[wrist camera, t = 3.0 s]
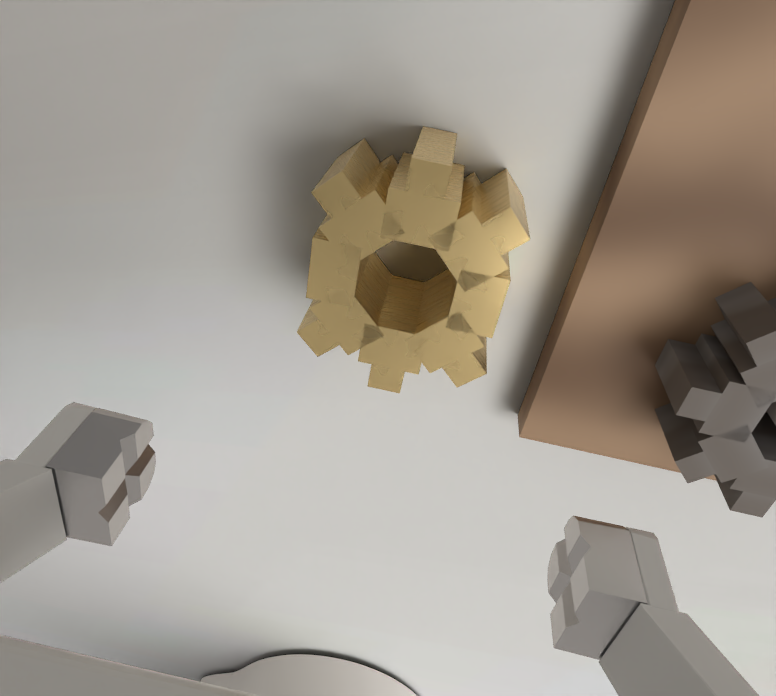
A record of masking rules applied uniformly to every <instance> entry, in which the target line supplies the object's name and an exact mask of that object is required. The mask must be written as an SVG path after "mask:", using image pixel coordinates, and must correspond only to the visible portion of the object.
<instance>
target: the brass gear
mask: <svg viewBox="0 0 776 696" xmlns="http://www.w3.org/2000/svg"><path fill="white" fill-rule="evenodd" d="M456 138H457V133H453V132H448V131H443V130H438V129H434V128H429V127H424V126H423V128H422V130H421V133H420V136H419V139H418V141H417V144H416V147H415V149H414V152H413V154H409V153H405V152H403V155H402V157H401V159H400V162H399V164H398V163H397V161H396V160H395V158H394V157H393V155H391V156H389V157H388V158H386V159H385V160H383V161H382V162H380V160H379V159H378V158H377V156H376V155H375V153H374V152H373V150H372V149H371V147H370V146H369V144H368V143H367V141H366V140H365V138H364V139H362V140H361V141H360V142H358V143H357V144H355V145H354V146H353V147H351V148H350V149H348V150H347V151H346V152H344V153H343V154H341V155H340V156H339V157H337V159H336V160H335V161H334V163H333V164H332V165H331V167H330V168H329V169H328V171H327V172H326V173H325V175H324V176H323V177H322V179H321V180H320V181H319V183H318V184H317V185H316V187H315V188H314V189H313V191H312V192H311V193H312V194H313V196H314V197H315V198H316V200H317V201H318V202H319V204H320V205H321V206H322V208H323V209H324V210H325V212H326V213H327V215H326V217H325V218H324V220H323V221H322V223H321V225H320V226H319V228H318V230H317V231H316V233H315V235H314V236H313V238H312V248H311V257H310V266H309V275H308V284H307V293H306V298H310V299H313V301H312V303H311V305H310V307H309V309H308V311H307V313H306V315H305V317H304V319H303V321H302V323H301V325H300V327H299V329H298V331H297V333H298V334H299V335H300V336H301V338H302V339H303V340H304V341H305V342H306V344H307V345H308V346H309V347H310V348H311V349H312V351H313V352H314V353H315V354H316V355H317V357H318V356H320V355H322V354H324V353H326V352H328V351H329V350H331V349H333V348H335V347H337V346H338V345H340V346H341V347H342V348H343V350H344V351H345V352H346V353H347V355H349V354H351V353H353V352H355V351H357V350H359V349H360V353H359V358H358V361H360V362H364V363H369V364H372V365H371V371H370V376H369V381H368V386H369V387H373V388H378V389H382V390H387V391H391V392H396V393H400V390H401V385H402V381H403V377H404V372H410V373H414V374H419V370H420V366H421V362H422V363H423V365H424V366H425V367H426V369H427V370H428V371H429V373H432V372H434V371H436V370H438V369H440V368H443V369H444V371H445V372H446V373H447V375H448V376H449V377H450V379H451V380H452V381H453V383H454V384H455V385H456V387H459V386H461V385H464V384H466V383H468V382H470V381H472V380H474V379H476V378H478V377H481V376H483V375H485V374H487V363H486V337H489V338H492V337H493V334H494V331H495V327H496V324H497V321H498V318H499V315H500V312H501V309H502V306H503V302H504V299H505V296H506V293H507V290H508V287H509V284H510V281H511V280H510V268H509V256H508V252H509V251H511V250H512V249H514V248H516V247H518V246H520V245H522V244H523V243H525V242H527V241H529V240H530V235H529V229H528V223H527V217H526V211H525V205H524V199H523V196H522V194H521V192H520V191H519V189H518V187H517V186H516V184H515V182H514V181H513V179H512V177H511V175H510V174H509V172H508V170H507V169H505V170H503V171H501V172H500V173H498V174H496V175H495V176H493V177H492V178H490V179H488V180H487V181H485V182H483V183H482V184H481V182H480V181H479V179H478V177H477V176H476V174H475V173H474V172H473V173H472V174H470V175H469V176H467V177H465V178H464V179H463V177H464V166H465V165H461V164H456V163H453V158H454V151H455V145H456ZM393 240H396V241H400V242H405V243H410V244H414V245H419V246H423V247H428V248H433V249H435V250H436V251H437V253H438V254H439V255H440V257H441V258H442V260H443V261H444V263H445V264H446V266H447V267H448V270H446V271H444V272H442V273H440V274H439V275H437V276H435V277H433V278H432V279H430V280H428V281H426V282H421V281H416V280H412V279H407V278H402V277H398V276H393V275H392V274H391V273H390V272H389V270H388V269H387V268H386V266H385V265H384V264H383V262H382V261H381V259H380V258H379V257H378V255H377V254H376V253H375V251H376V250H378V249H380V248H381V247H383V246H385V245H386V244H388V243H390V242H391V241H393Z"/></svg>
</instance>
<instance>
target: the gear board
mask: <svg viewBox="0 0 776 696" xmlns="http://www.w3.org/2000/svg"><path fill="white" fill-rule="evenodd" d="M518 424H519V437H522V438H526V439H531V440H535V441H540V442H544V443H549V444H553V445H558V446H562V447H567V448H571V449H576V450H580V451H585V452H589V453H594V454H598V455H603V456H608V457H612V458H617V459H621V460H626V461H630V462H635V463H639V464H644V465H648V466H653V467H657V468H662V469H666V470H671V471H675V472H680V473H682V475H683V476H684V478H685V480H686V481H687V483H690V482H693V481H696V480H699V479H702V478H707V479H712V480H716V481H717V482H718V484H719V487H720V489H721V491H722V493H723V496H724V498H725V500H726V502H727V504H728V507H729V509H730V510H732V511H736V512H741V513H745V514H750V515H754V516H759V517H763V516H764V515H765V513H766V512H767V511H768V509H769V508H770V507H771V505H772V504H773V503H774V502H775V500H776V0H675V2H674V5H673V7H672V10H671V13H670V15H669V18H668V21H667V23H666V26H665V28H664V31H663V34H662V36H661V39H660V42H659V44H658V47H657V50H656V52H655V55H654V57H653V60H652V63H651V65H650V68H649V71H648V73H647V76H646V78H645V81H644V84H643V86H642V89H641V92H640V94H639V97H638V100H637V102H636V105H635V107H634V110H633V113H632V115H631V118H630V121H629V123H628V126H627V128H626V131H625V134H624V136H623V139H622V142H621V144H620V147H619V150H618V152H617V155H616V157H615V160H614V163H613V165H612V168H611V171H610V173H609V176H608V179H607V181H606V184H605V186H604V189H603V192H602V194H601V197H600V200H599V202H598V205H597V207H596V210H595V213H594V215H593V218H592V221H591V223H590V226H589V229H588V231H587V234H586V236H585V239H584V242H583V244H582V247H581V250H580V252H579V255H578V258H577V260H576V263H575V265H574V268H573V271H572V273H571V276H570V279H569V281H568V284H567V286H566V289H565V292H564V294H563V297H562V300H561V302H560V305H559V308H558V310H557V313H556V315H555V318H554V321H553V323H552V326H551V329H550V331H549V334H548V337H547V339H546V342H545V344H544V347H543V350H542V352H541V355H540V358H539V360H538V363H537V365H536V368H535V371H534V373H533V376H532V379H531V381H530V384H529V387H528V389H527V392H526V394H525V397H524V400H523V402H522V405H521V408H520V410H519V413H518Z"/></svg>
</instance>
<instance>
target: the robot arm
mask: <svg viewBox="0 0 776 696" xmlns="http://www.w3.org/2000/svg"><path fill="white" fill-rule="evenodd" d="M153 436H154V433H153V425H152V422H150V421H148V420H144V419H140V418H136V417H132V416H128V415H124V414H120V413H116V412H112V411H109V410H105V409H101V408H95V407H91V406H87V405H83V404H79V403H75V402H73V403H71V404H69V405H67V406H65V407H64V408H63V409H62V410H61V411H60V412H59V413H58V415H57V416H56V417H55V418H54V419H53V420H52V421H51V422H50V423H49V424H48V425H47V426H46V427H45V429H44V430H43V431H42V432H41V433H40V434H39V435H38V436H37V437H36V438H35V439H34V440H33V441H32V443H31V444H30V445H29V446H28V447H27V448H26V449H25V450H24V451H23V452H22V453H21V454H20V455H19V456H18V458H17V459H16V460H10V459H6V460H3V461H1V462H0V583H1V582H3V581H4V580H6V579H7V578H9V577H10V576H12V575H14V574H15V573H17V572H18V571H20V570H21V569H23V568H24V567H26V566H27V565H29V564H30V563H32V562H33V561H35V560H37V559H38V558H40V557H41V556H43V555H44V554H46V553H47V552H49V551H50V550H52V549H53V548H55V547H56V546H58V545H60V544H61V543H63V542H64V541H66V540H67V538H66V537H69V538H74V539H79V540H84V541H89V542H94V543H99V544H104V545H108V546H112V545H113V544H114V542H115V541H116V539H117V537H118V536H119V534H120V533H121V531H122V530H123V528H124V526H125V525H126V523H127V522H128V520H129V519H130V513H129V506H130V505H132V504H134V503H136V502H138V501H140V500H141V499H142V498H143V496H144V495H145V493H146V491H147V490H148V488H149V485H150V483H151V480H152V477H153V475H154V470H155V463H156V458H155V452H154V450H153V449H152V448H151V447H150V445H149V442H150V441H151V439H152V438H153ZM564 532H565V539H564V540H562V541H560V542H558V543H556V545H555V547H554V549H553V551H552V554H551V557H550V561H549V566H548V579H547V581H548V592H549V594H550V595H551V597H552V598H553V599H554V601H555V602H556V605H555V607H554V608H553V610H552V612H551V614H550V616H551V626H552V636H553V647H554V648H556V649H560V650H564V651H567V652H571V653H575V654H579V655H583V656H587V657H591V658H594V659H598V660H600V661H599V663H600V665H601V667H602V668H603V670H604V672H605V674H606V675H607V677H608V679H609V680H610V682H611V684H612V685H613V687H614V689H615V690H616V692H617V694H618V695H619V696H759V695H758V694H757V693H756V691H755V690H754V689H753V688H752V687H751V686H750V685H749V684H748V682H747V681H746V680H745V679H744V678H743V677H742V676H741V674H740V673H739V672H738V671H737V670H736V669H735V668H734V667H733V665H732V664H731V663H730V662H729V661H728V660H727V659H726V657H725V656H724V655H723V654H722V653H721V652H720V651H719V650H718V648H717V647H716V646H715V645H714V644H713V643H712V642H711V640H710V639H709V638H708V637H707V636H706V635H705V634H704V633H703V631H702V630H701V629H700V628H699V627H698V626H697V625H696V623H695V622H694V621H693V620H692V619H691V618H690V617H689V615H688V614H685V613H681V612H679V610H678V607H677V603H676V600H675V596H674V593H673V590H672V586H671V583H670V579H669V576H668V572H667V569H666V566H665V562H664V559H663V555H662V552H661V549H660V545H659V542H658V538H657V537H656V536H655V534H654V533H651V532H646V531H642V530H637V529H633V528H628V527H623V526H619V525H615V524H610V523H605V522H601V521H596V520H591V519H587V518H582V517H577V516H572V517H571V518H570V519H569V520H568V522H567V524H566V526H565V527H564ZM0 696H417V695H416V694H415V693H414V692H412V691H411V690H410V689H409V688H407V687H406V686H405V685H403V684H402V683H400V682H398V681H397V680H395V679H393V678H392V677H390V676H388V675H386V674H384V673H382V672H379V671H377V670H375V669H372V668H369V667H367V666H364V665H361V664H358V663H354V662H351V661H347V660H343V659H338V658H333V657H327V656H319V655H304V654H295V655H281V656H274V657H270V658H266V659H262V660H259V661H256V662H254V663H252V664H250V665H248V666H246V667H244V668H242V669H241V670H238V671H236V672H233V673H223V674H215V675H209V676H206V677H203V678H202V679H201V682H199V681H195V680H191V679H186V678H182V677H178V676H173V675H169V674H165V673H161V672H156V671H152V670H148V669H144V668H139V667H135V666H131V665H126V664H122V663H118V662H114V661H109V660H105V659H101V658H97V657H92V656H88V655H84V654H80V653H75V652H71V651H67V650H63V649H58V648H54V647H50V646H45V645H41V644H37V643H33V642H28V641H24V640H20V639H16V638H11V637H7V636H3V635H0Z"/></svg>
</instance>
